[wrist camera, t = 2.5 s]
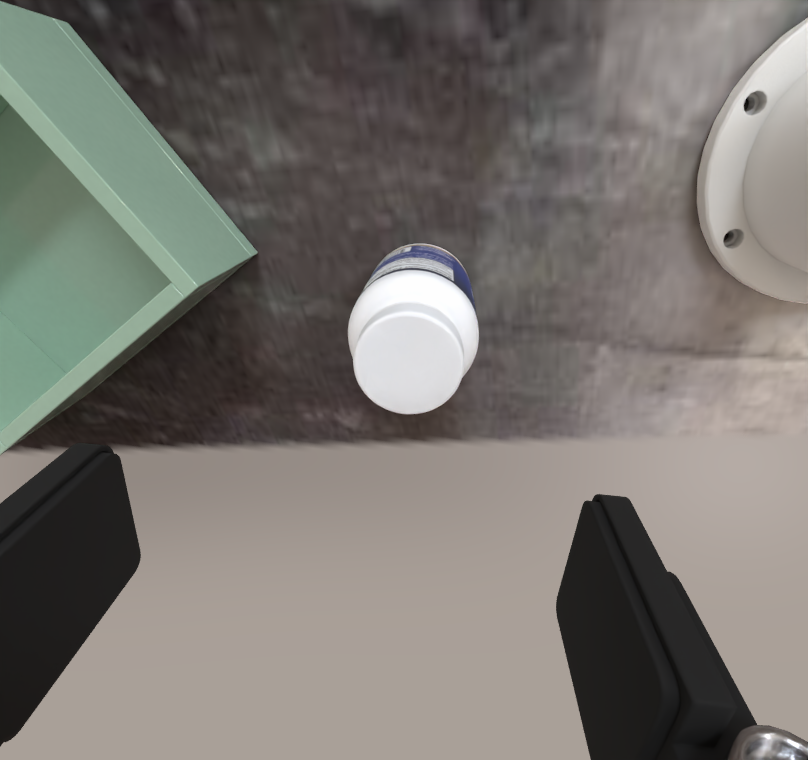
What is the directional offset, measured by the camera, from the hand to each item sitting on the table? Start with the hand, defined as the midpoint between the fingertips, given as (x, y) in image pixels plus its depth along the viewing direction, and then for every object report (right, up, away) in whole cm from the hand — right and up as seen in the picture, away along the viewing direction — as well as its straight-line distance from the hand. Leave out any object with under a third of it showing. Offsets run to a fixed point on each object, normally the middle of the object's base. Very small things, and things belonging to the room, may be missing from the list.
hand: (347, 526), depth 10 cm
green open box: (-16, +11, +16) cm, 25 cm away
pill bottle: (+2, +8, +16) cm, 18 cm away
